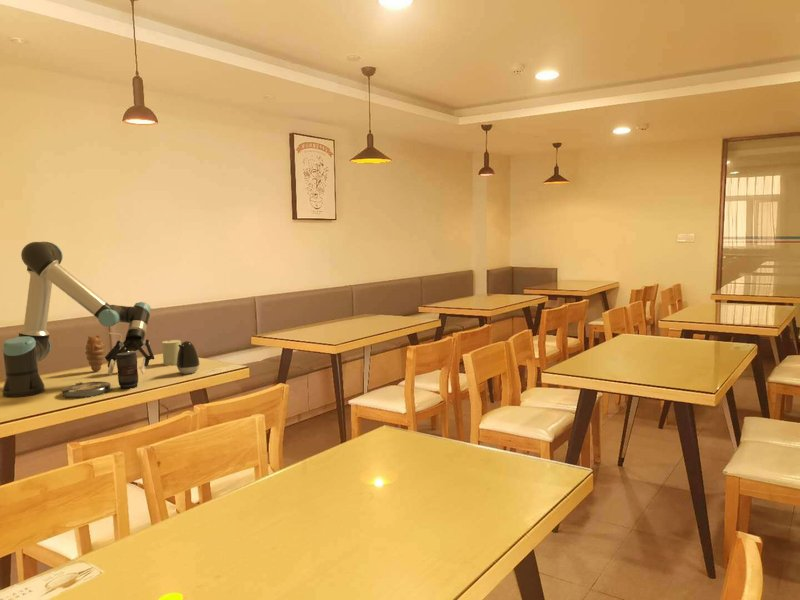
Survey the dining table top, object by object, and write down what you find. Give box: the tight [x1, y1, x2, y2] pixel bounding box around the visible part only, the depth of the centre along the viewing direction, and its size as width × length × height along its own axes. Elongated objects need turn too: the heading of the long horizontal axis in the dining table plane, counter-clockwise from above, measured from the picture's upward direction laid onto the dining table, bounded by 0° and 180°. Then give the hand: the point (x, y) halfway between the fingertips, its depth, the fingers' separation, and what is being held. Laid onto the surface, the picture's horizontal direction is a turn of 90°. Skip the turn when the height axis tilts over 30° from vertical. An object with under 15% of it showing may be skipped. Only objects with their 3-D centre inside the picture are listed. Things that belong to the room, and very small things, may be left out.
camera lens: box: [115, 351, 139, 390], centre depth 255 cm, size 8×8×15 cm
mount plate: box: [61, 381, 112, 399], centre depth 249 cm, size 18×18×3 cm
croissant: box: [85, 334, 106, 372], centre depth 289 cm, size 9×8×18 cm
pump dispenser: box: [176, 340, 200, 375], centre depth 280 cm, size 10×10×15 cm
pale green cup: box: [161, 339, 182, 366], centre depth 303 cm, size 9×9×12 cm
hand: (125, 373), depth 253 cm, fingers open, 13 cm apart
